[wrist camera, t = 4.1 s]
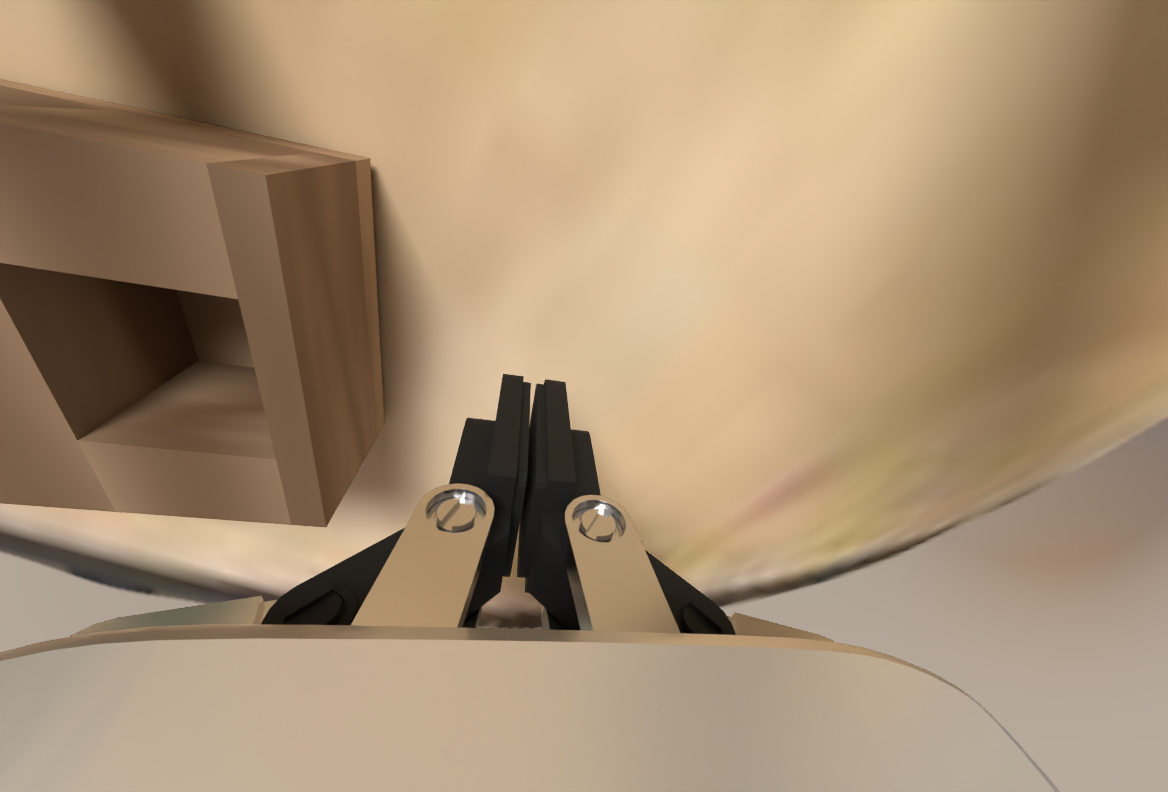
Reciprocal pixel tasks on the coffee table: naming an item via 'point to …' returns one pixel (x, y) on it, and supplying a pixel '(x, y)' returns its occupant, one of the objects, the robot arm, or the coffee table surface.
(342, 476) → the block
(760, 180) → the coffee table surface
